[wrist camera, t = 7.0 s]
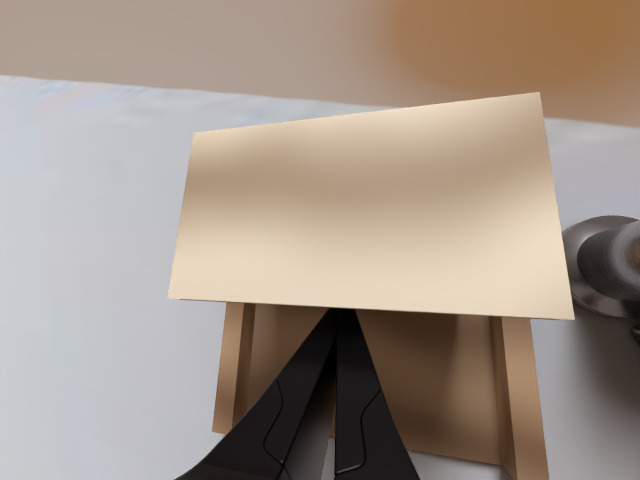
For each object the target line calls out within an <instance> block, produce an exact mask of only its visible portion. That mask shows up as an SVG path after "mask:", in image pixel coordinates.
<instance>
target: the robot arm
mask: <svg viewBox="0 0 640 480" xmlns="http://www.w3.org/2000/svg"><path fill="white" fill-rule="evenodd" d="M335 402H336V412H335V468H334V475H335V478H334V480H420V478H419V476H418V474H417V471H416V469H415V467H414V465H413V463H412V461H411V459H410V456H409V454H408V452H407V450H406V448H405V446H404V444H403V442H402V439H401V437H400V435H399V432H398V430H397V428H396V425H395V423H394V421H393V418H392V415H391V413H390V410H389V407H388V405H387V402H386V399H385V396H384V393H383V391H382V387H381V384H380V381H379V378H378V375H377V372H376V369H375V366H374V363H373V360H372V357H371V354H370V351H369V348H368V345H367V342H366V339H365V336H364V333H363V330H362V327H361V324H360V321H359V318H358V315H357V312H356V309H346V308H329V309H328V310H327V311H326V312H325V314H324V315H323V316H322V318H321V319H320V320H319V322H318V323H317V324H316V326H315V327H314V328H313V329H312V331H311V332H310V333H309V335H308V336H307V337H306V339H305V340H304V341H303V343H302V344H301V345H300V346H299V348H298V349H297V350H296V352H295V353H294V354H293V356H292V357H291V358H290V360H289V361H288V362H287V363H286V365H285V366H284V367H283V369H282V370H281V371H280V373H279V374H278V375H277V378H275V379H274V380H273V382H272V383H271V384H270V386H269V387H268V388H267V389H266V391H265V392H264V393H263V394H262V396H261V397H260V398H259V399H258V401H257V402H256V403H255V404H254V405H253V406H252V407H251V408H250V410H249V411H248V412H247V413H246V414H245V415H244V416H243V417H242V418H241V419H240V421H239V422H238V423H237V424H236V425H235V426H234V427H233V428H232V429H231V430H230V431H229V432H228V433H227V434H226V436H225V437H224V438H223V439H222V440H221V441H220V442H219V443H218V444H217V445H216V446H215V447H214V448H213V449H212V450H211V452H210V453H209V454H208V455H207V456H206V457H205V458H204V459H202V460H201V461H200V462H199V463H198V464H197V465H195V466H194V467H193V468H192V469H190V470H189V471H188V472H186V473H185V474H183V475H181V476H180V477H178V478H176V479H175V480H321V475H322V470H323V465H324V460H325V454H326V449H327V444H328V439H329V433H330V428H331V423H332V418H333V413H334V407H335Z"/></svg>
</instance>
